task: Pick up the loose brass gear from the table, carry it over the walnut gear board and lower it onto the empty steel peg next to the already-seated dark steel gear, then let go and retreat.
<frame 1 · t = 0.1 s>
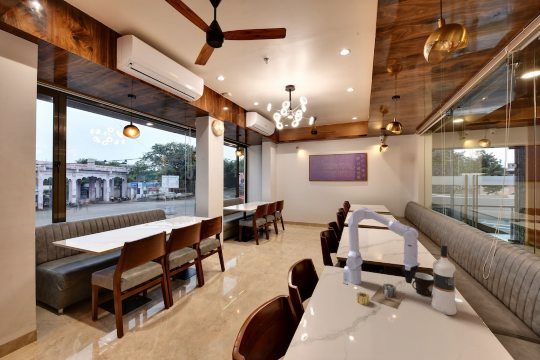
hand: (410, 280, 114), 10 cm above the table, fingers open, 7 cm apart
coffee mug: (420, 295, 119), on the table
steel gear: (389, 294, 118), point 1 cm above the table, touching gear board
vodka: (443, 310, 106), on the table
brass gear: (362, 304, 111), on the table
gear board: (387, 299, 116), on the table
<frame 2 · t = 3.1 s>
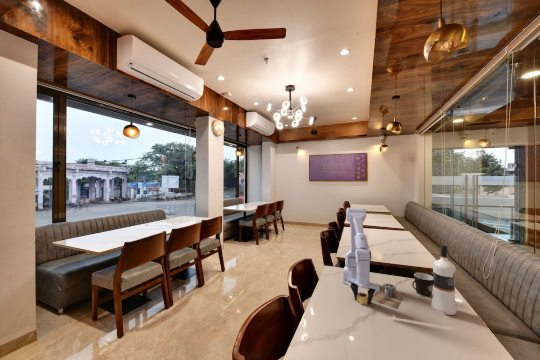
hand: (362, 301, 111), 1 cm above the table, fingers closed on brass gear, 6 cm apart
brass gear: (362, 304, 111), on the table, touching gripper
everything else where it was.
when the fingers open (5 cm above the table, at t = 6.8 s): brass gear drops 2 cm, resting on gear board.
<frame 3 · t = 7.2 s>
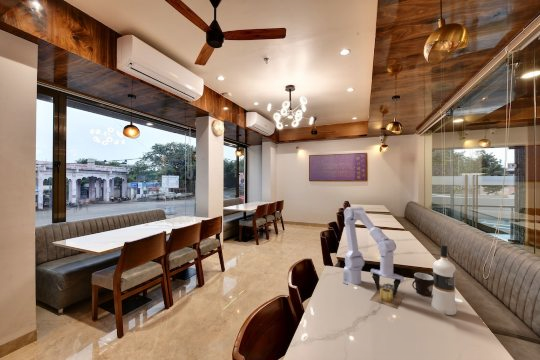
hand: (386, 291, 113), 5 cm above the table, fingers open, 7 cm apart
brass gear: (386, 299, 113), point 1 cm above the table, touching gear board
everything else where it was.
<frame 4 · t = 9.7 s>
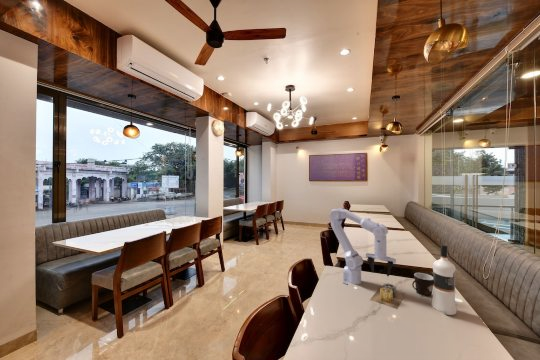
hand: (380, 273, 122), 10 cm above the table, fingers open, 7 cm apart
nothing on the table moved.
at the end: brass gear 0.3 cm from the target spot on the gear board, point 1.2 cm above the gear board's base; brass gear tilted 0°; steel gear 0.0 cm from the target spot on the gear board, point 1.2 cm above the gear board's base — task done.
